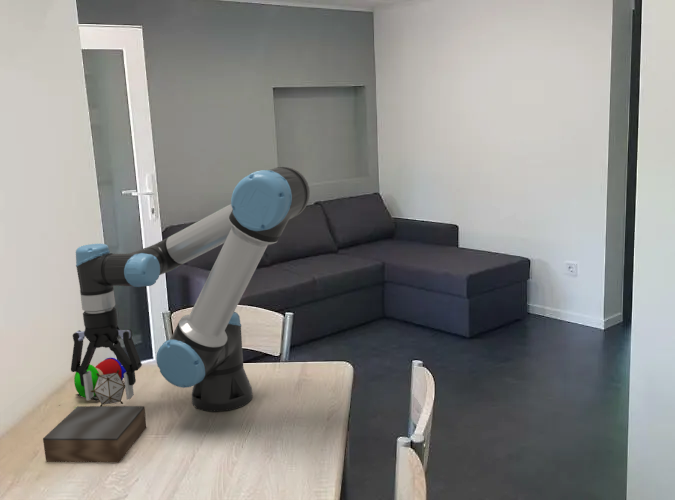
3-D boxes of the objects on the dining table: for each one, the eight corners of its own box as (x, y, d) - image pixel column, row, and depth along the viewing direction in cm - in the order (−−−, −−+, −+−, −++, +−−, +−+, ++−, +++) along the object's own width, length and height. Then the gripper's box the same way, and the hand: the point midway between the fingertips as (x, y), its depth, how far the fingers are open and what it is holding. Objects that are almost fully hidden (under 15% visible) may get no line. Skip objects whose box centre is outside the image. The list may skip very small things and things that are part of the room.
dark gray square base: (146, 427, 157) (144, 406, 156) (119, 462, 141) (116, 438, 140) (80, 427, 158) (77, 406, 157) (46, 462, 143) (42, 438, 142)
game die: (116, 420, 164) (113, 398, 157) (85, 407, 166) (80, 385, 158) (136, 391, 171) (133, 369, 163) (106, 379, 172) (102, 356, 165)
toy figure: (109, 389, 187) (66, 401, 174) (107, 355, 187) (64, 364, 174) (134, 390, 183) (92, 402, 170) (132, 355, 183) (90, 365, 170)
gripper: (149, 303, 163) (159, 390, 168) (62, 306, 165) (73, 392, 170) (138, 312, 156) (148, 403, 160) (46, 315, 158) (59, 404, 162)
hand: (110, 397), depth 165 cm, fingers closed on game die, 9 cm apart
